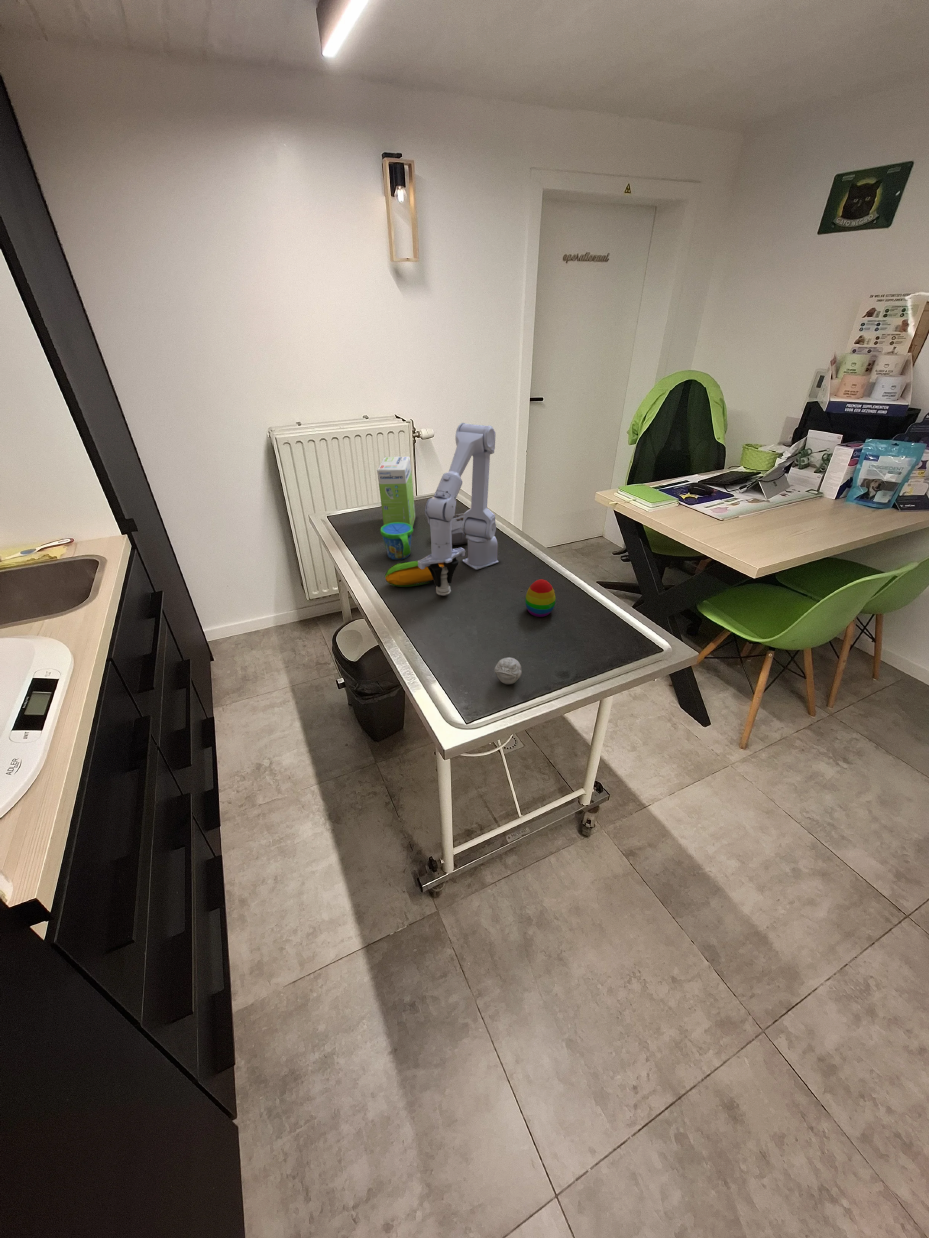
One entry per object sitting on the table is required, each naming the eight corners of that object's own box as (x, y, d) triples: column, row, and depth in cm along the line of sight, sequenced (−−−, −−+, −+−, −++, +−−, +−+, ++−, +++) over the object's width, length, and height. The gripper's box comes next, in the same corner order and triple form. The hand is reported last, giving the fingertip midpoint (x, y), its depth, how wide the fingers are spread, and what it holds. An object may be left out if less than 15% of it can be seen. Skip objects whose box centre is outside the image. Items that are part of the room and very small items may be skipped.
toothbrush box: (390, 517, 194) (384, 455, 181) (415, 517, 194) (411, 455, 181) (383, 535, 180) (376, 469, 166) (411, 535, 180) (406, 469, 166)
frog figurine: (490, 688, 109) (490, 664, 105) (499, 670, 114) (500, 646, 110) (516, 695, 107) (517, 670, 103) (524, 676, 112) (526, 652, 108)
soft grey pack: (450, 550, 168) (498, 537, 177) (450, 528, 164) (498, 516, 172) (430, 535, 179) (475, 524, 188) (429, 514, 174) (476, 503, 183)
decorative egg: (558, 618, 132) (561, 586, 127) (529, 621, 131) (531, 589, 126) (548, 602, 139) (552, 572, 134) (521, 605, 138) (523, 574, 132)
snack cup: (421, 562, 161) (419, 534, 155) (390, 568, 157) (387, 539, 152) (407, 544, 173) (404, 517, 167) (378, 549, 169) (374, 522, 164)
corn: (381, 559, 146) (446, 551, 150) (384, 581, 150) (446, 572, 155) (385, 572, 140) (452, 562, 145) (388, 594, 145) (452, 584, 149)
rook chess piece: (445, 597, 140) (444, 573, 135) (432, 593, 142) (431, 569, 137) (453, 591, 143) (453, 566, 138) (441, 587, 145) (440, 563, 140)
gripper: (426, 552, 127) (428, 597, 135) (471, 539, 134) (471, 582, 141) (412, 543, 132) (415, 586, 139) (456, 530, 139) (457, 572, 146)
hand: (442, 583), depth 141 cm, fingers closed on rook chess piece, 3 cm apart
